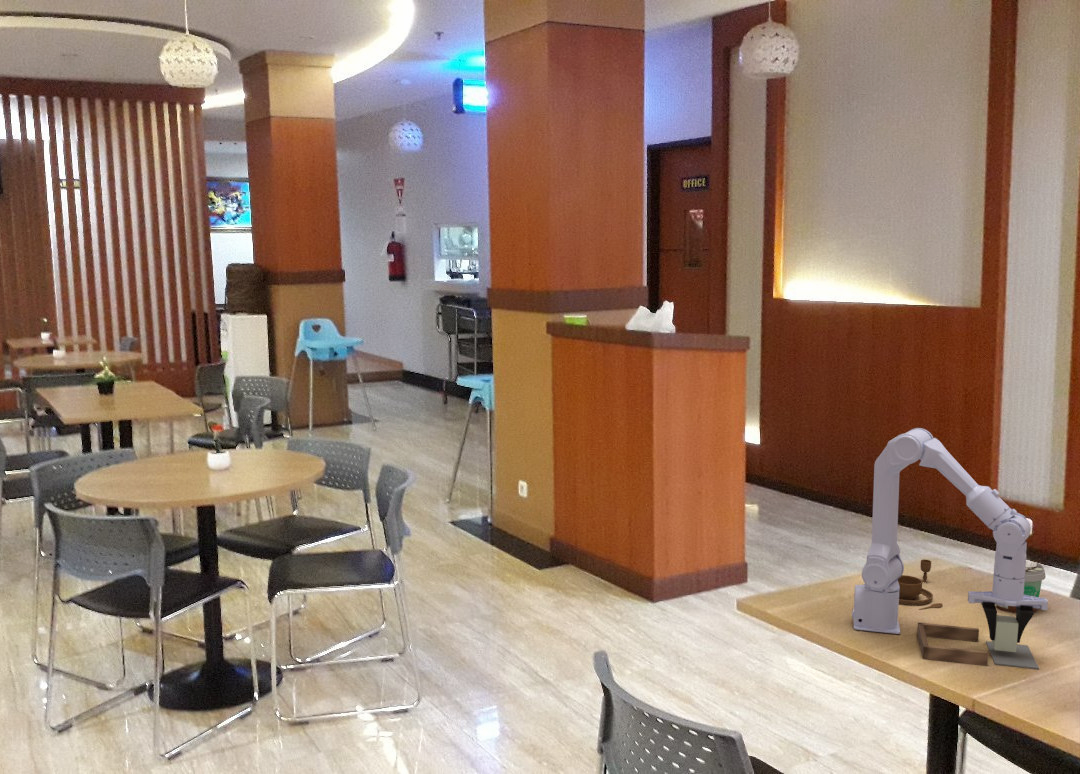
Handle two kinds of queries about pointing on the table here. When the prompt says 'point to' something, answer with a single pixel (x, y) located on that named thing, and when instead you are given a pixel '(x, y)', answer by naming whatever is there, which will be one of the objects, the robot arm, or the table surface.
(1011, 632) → the sage block
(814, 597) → the table surface
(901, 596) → the place setting
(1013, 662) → the mat
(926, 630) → the open side box
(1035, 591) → the food container
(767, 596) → the table surface
